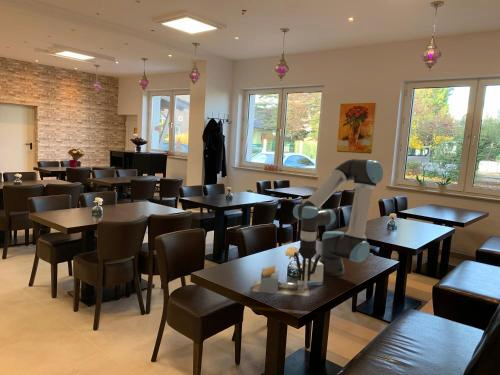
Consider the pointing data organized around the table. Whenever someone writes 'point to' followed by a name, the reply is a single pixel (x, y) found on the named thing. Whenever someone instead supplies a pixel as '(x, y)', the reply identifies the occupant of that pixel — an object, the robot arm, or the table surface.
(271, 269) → the keeper tab
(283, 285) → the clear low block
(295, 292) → the birch board
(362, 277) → the table surface
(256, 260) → the table surface
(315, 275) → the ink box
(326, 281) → the table surface
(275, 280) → the hitch block
